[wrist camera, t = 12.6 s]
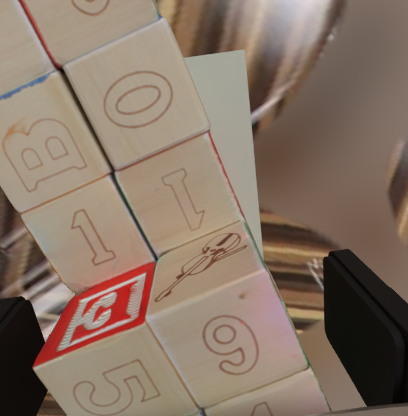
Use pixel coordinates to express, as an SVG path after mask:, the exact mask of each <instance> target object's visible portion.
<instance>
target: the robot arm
mask: <svg viewBox="0 0 408 416" xmlns="http://www.w3.org/2000/svg"><path fill="white" fill-rule="evenodd" d="M323 275H324V323H325V332H326V335H327V338H328V340H329V342H330V344H331V345H332V347H333V349H334V350H335V352H336V354H337V355H338V357H339V359H340V361H341V362H342V364H343V366H344V368H345V369H346V371H347V373H348V374H349V376H350V378H351V380H352V381H353V383H354V385H355V386H356V388H357V390H358V392H359V393H360V395H361V397H362V399H363V400H364V402H365V404H366V405H367V407H360V408H353V409H346V410H340V411H332V412H324V413H316V414H309V415H302V416H408V303H407V302H406V301H405V300H403V299H402V298H401V297H400V296H399V295H398V294H397V293H396V292H395V291H394V290H393V289H392V288H390V287H389V286H387V285H386V284H385V283H384V282H383V281H382V280H381V279H380V278H379V277H378V276H377V275H376V274H375V273H374V272H373V271H372V270H371V269H369V268H368V267H367V266H366V265H365V264H364V263H363V262H362V261H361V260H360V259H359V258H358V257H357V256H356V255H355V254H354V253H353V252H351V251H350V250H349V249H344V250H337V251H330V252H329V255H328V257H324V259H323ZM44 344H45V340H44V338H43V335H42V332H41V329H40V326H39V323H38V321H37V318H36V315H35V312H34V309H33V306H32V304H31V302H30V301H29V300H25V298H24V297H22V296H20V297H13V298H6V299H1V300H0V416H36V415H37V413H38V411H39V408H40V406H41V404H42V402H43V400H44V398H45V396H46V393H47V391H48V389H47V388H46V387H45V385H44V384H43V383H42V381H41V380H40V379H39V377H38V376H37V374H36V373H35V371H34V370H33V368H32V367H33V365H34V363H35V360H36V358H37V356H38V354H39V353H40V351H41V349H42V347H43V346H44Z"/></svg>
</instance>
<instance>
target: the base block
mask: <svg viewBox="0 0 408 416" xmlns="http://www.w3.org/2000/svg"><path fill="white" fill-rule="evenodd" d="M184 60H185V63H186V65H187V67H188V70H189V72H190V74H191V77H192V79H193V82H194V84H195V87H196V89H197V92H198V94H199V97H200V99H201V102H202V104H203V107H204V109H205V112H206V114H207V117H208V119H209V122H210V124H211V127H210V134H211V137H212V140H213V142H214V144H215V147H216V149H217V152H218V154H219V157H220V159H221V162H222V164H223V167H224V169H225V171H226V174H227V176H228V179H229V181H230V184H231V186H232V188H233V191H234V193H235V195H236V197H237V199H238V202H239V204H240V207H241V209H242V211H243V214H244V216H245V218H246V221H247V223H248V225H249V228H250V230H251V233H252V235H253V237H254V240H255V242H256V244H257V247H258V249H259V252H260V254H261V256H262V259H263V249H262V238H261V227H260V216H259V205H258V194H257V183H256V172H255V160H254V149H253V138H252V127H251V115H250V104H249V93H248V82H247V71H246V60H245V50H238V51H231V52H223V53H216V54H209V55H202V56H195V57H188V58H184ZM263 261H264V260H263Z"/></svg>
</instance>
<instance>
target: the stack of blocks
mask: <svg viewBox="0 0 408 416" xmlns="http://www.w3.org/2000/svg"><path fill="white" fill-rule="evenodd" d="M210 127H211V124H210V122H209V119H208V117H207V114H206V112H205V109H204V107H203V104H202V102H201V99H200V97H199V94H198V92H197V89H196V87H195V84H194V82H193V79H192V77H191V74H190V72H189V70H188V67H187V65H186V63H185V60H184V58H183V55H182V53H181V51H180V48H179V46H178V43H177V41H176V39H175V36H174V34H173V31H172V29H171V27H170V24H169V22H168V20H167V19H166V18H164V17H162V16H161V14H160V11H159V9H158V6H157V4H156V1H155V0H0V186H1V188H2V189H3V191H4V192H5V194H6V196H7V197H8V199H9V200H10V202H11V204H12V205H13V206H14V208H15V209H16V210H17V211H18V212H19V213H20V215H21V218H22V221H23V222H24V224H25V227H26V228H27V229H28V231H29V232H30V234H31V235H32V237H33V239H34V240H35V242H36V243H37V245H38V246H39V248H40V249H41V251H42V252H43V254H44V255H45V257H46V258H47V259H48V261H49V262H50V264H51V265H52V267H53V268H54V270H55V271H56V273H57V274H58V276H59V277H60V279H61V280H62V282H63V283H64V284H65V285H66V286H67V287H68V288H69V289H70V290H71V291H72V292H74V293H75V296H74V297H73V298H72V299H71V300H70V301H69V302H68V304H67V306H66V307H65V309H64V310H63V312H62V315H61V317H60V319H59V320H58V322H57V324H56V325H55V327H54V329H53V330H52V332H51V334H50V335H49V337H48V339H47V341H46V342H45V344H44V346H43V347H42V349H41V351H40V353H39V354H38V356H37V358H36V360H35V363H34V365H33V367H32V368H33V370H34V371H35V373H36V374H37V376H38V377H39V379H40V380H41V381H42V383H43V384H44V385H45V387H46V388H47V389H48V391H49V392H50V393H51V395H52V396H53V397H54V399H55V400H56V401H57V403H58V404H59V405H60V407H61V408H62V409H63V410H64V411H65V413H66V414H67V416H302V415H309V414H316V413H324V412H332V411H331V408H330V406H329V404H328V402H327V399H326V397H325V395H324V393H323V391H322V388H321V386H320V384H319V382H318V380H317V377H316V375H315V373H314V371H313V369H312V367H311V365H310V363H309V361H308V359H307V357H306V354H305V352H304V349H303V347H302V345H301V342H300V340H299V337H298V335H297V332H296V330H295V327H294V325H293V323H292V320H291V318H290V315H289V313H288V311H287V308H286V306H285V303H284V301H283V299H282V297H281V295H280V292H279V290H278V288H277V286H276V284H275V282H274V280H273V278H272V275H271V273H270V271H269V269H268V267H267V265H266V264H265V263H264V261H263V259H262V256H261V254H260V252H259V249H258V247H257V244H256V242H255V240H254V237H253V235H252V233H251V230H250V228H249V225H248V223H247V221H246V218H245V216H244V214H243V211H242V209H241V207H240V204H239V202H238V199H237V197H236V195H235V193H234V191H233V188H232V186H231V184H230V181H229V179H228V176H227V174H226V171H225V169H224V167H223V164H222V162H221V159H220V157H219V154H218V152H217V149H216V147H215V144H214V142H213V140H212V137H211V134H210Z"/></svg>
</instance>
